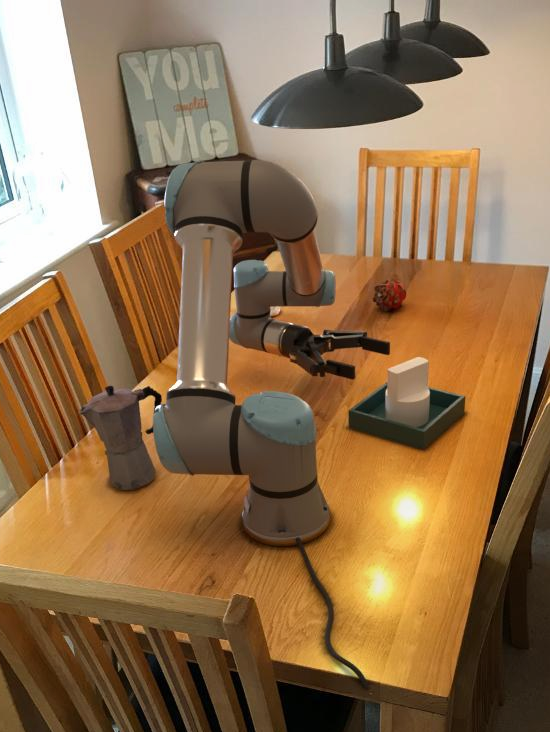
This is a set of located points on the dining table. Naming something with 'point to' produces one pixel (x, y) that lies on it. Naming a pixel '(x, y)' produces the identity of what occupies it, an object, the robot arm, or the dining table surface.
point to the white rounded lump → (274, 311)
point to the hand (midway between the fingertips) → (372, 360)
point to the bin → (373, 421)
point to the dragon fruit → (389, 294)
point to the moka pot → (123, 434)
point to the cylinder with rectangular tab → (408, 393)
